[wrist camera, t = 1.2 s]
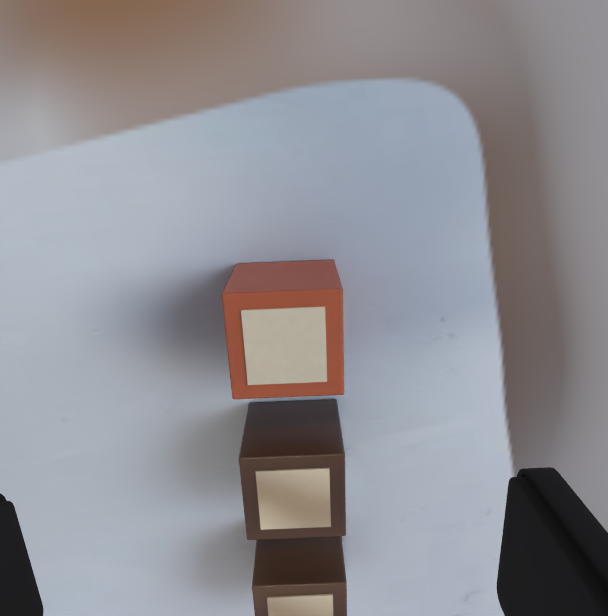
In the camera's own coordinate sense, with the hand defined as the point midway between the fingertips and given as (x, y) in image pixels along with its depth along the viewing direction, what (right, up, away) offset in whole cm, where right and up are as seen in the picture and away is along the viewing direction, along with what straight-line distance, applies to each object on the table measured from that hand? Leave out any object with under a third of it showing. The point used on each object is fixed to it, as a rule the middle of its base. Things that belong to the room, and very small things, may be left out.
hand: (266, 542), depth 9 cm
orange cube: (0, +4, +11) cm, 12 cm away
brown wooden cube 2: (0, -2, +13) cm, 13 cm away
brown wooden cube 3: (+1, -8, +15) cm, 17 cm away
